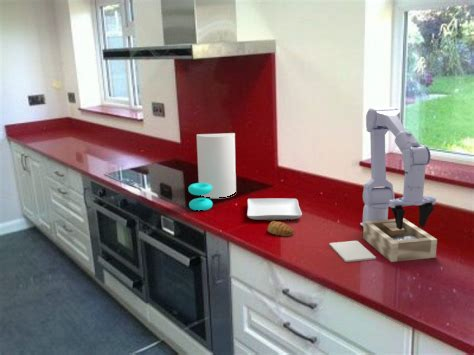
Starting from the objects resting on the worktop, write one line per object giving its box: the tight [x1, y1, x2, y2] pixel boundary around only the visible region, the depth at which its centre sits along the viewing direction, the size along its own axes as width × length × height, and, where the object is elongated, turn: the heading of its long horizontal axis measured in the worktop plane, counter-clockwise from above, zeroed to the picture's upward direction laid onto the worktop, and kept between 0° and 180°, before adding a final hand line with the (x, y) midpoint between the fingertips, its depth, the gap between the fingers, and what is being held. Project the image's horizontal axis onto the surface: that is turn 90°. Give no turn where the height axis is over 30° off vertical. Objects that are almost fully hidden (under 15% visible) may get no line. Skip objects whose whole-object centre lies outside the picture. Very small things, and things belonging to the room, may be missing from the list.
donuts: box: [187, 182, 214, 212], centre depth 200 cm, size 10×10×10 cm
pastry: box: [267, 220, 295, 237], centre depth 171 cm, size 9×7×4 cm
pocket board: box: [362, 217, 438, 263], centre depth 156 cm, size 20×15×6 cm
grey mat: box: [328, 240, 377, 263], centre depth 154 cm, size 14×10×1 cm
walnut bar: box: [382, 222, 405, 236], centre depth 159 cm, size 7×4×2 cm, turn 10°
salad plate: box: [246, 197, 303, 221], centre depth 192 cm, size 21×21×3 cm
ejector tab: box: [387, 233, 418, 241], centre depth 156 cm, size 14×10×2 cm
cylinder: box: [196, 132, 237, 199], centre depth 218 cm, size 17×17×28 cm
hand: (410, 227), depth 148 cm, fingers open, 7 cm apart
